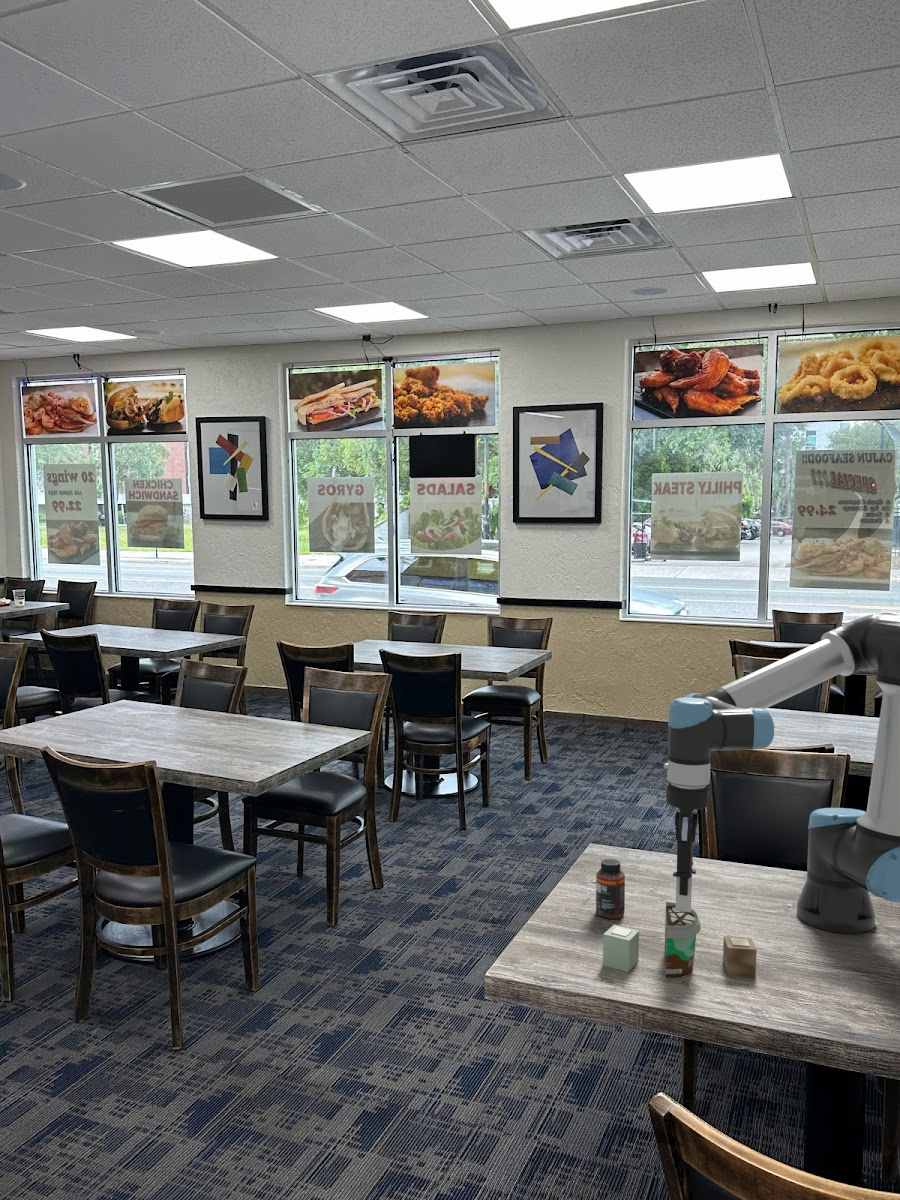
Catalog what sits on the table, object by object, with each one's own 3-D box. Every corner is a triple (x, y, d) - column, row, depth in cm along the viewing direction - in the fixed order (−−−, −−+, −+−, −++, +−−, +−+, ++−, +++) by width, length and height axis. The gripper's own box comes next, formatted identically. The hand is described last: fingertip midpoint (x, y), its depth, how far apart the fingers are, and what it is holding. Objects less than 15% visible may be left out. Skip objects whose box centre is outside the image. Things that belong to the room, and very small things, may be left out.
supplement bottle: (623, 909, 200) (624, 857, 200) (625, 920, 194) (627, 867, 194) (594, 908, 201) (596, 856, 200) (596, 919, 195) (597, 865, 194)
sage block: (638, 962, 176) (639, 929, 176) (628, 972, 172) (629, 939, 171) (613, 955, 179) (614, 923, 178) (602, 965, 174) (603, 932, 174)
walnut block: (750, 963, 176) (751, 936, 176) (755, 976, 171) (756, 948, 171) (722, 961, 177) (723, 935, 176) (727, 974, 172) (728, 946, 171)
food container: (701, 985, 167) (703, 930, 166) (665, 981, 168) (667, 926, 168) (697, 954, 179) (699, 903, 179) (664, 951, 180) (665, 900, 180)
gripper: (669, 773, 179) (665, 894, 180) (663, 790, 166) (659, 920, 168) (710, 776, 176) (705, 899, 178) (707, 795, 164) (702, 926, 166)
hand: (683, 909), depth 173 cm, fingers closed
